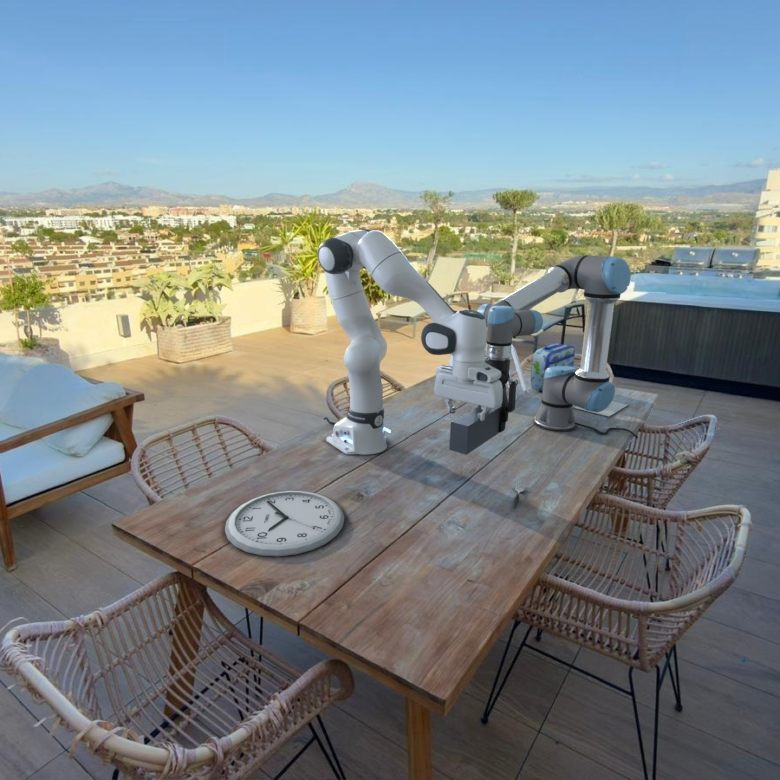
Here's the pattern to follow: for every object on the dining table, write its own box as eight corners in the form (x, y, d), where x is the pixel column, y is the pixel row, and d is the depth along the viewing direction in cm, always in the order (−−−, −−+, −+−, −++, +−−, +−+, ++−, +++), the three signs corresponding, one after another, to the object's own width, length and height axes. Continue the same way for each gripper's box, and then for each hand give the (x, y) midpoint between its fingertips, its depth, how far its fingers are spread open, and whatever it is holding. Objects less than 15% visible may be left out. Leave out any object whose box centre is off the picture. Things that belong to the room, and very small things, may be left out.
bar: (489, 424, 170) (491, 399, 168) (505, 428, 167) (507, 403, 164) (449, 449, 151) (450, 421, 148) (466, 454, 147) (468, 426, 145)
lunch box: (547, 395, 239) (552, 351, 233) (526, 390, 247) (530, 347, 240) (574, 384, 257) (579, 343, 251) (554, 380, 264) (558, 339, 258)
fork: (509, 509, 142) (509, 503, 141) (516, 484, 156) (517, 477, 156) (519, 511, 141) (519, 504, 140) (525, 485, 155) (526, 479, 155)
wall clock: (344, 547, 121) (211, 552, 118) (344, 554, 121) (212, 558, 119) (344, 486, 149) (237, 489, 147) (344, 491, 150) (237, 494, 147)
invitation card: (608, 416, 214) (573, 407, 224) (608, 416, 214) (573, 408, 224) (628, 404, 229) (594, 396, 238) (628, 405, 229) (594, 397, 238)
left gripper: (430, 365, 148) (429, 411, 152) (496, 378, 136) (493, 427, 141) (442, 361, 153) (440, 406, 157) (507, 373, 141) (503, 420, 145)
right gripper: (464, 355, 161) (460, 425, 168) (521, 365, 150) (514, 439, 157) (476, 350, 167) (471, 418, 174) (531, 360, 156) (524, 432, 163)
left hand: (465, 416), depth 149 cm, fingers open, 8 cm apart
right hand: (492, 428), depth 166 cm, fingers closed on bar, 6 cm apart
